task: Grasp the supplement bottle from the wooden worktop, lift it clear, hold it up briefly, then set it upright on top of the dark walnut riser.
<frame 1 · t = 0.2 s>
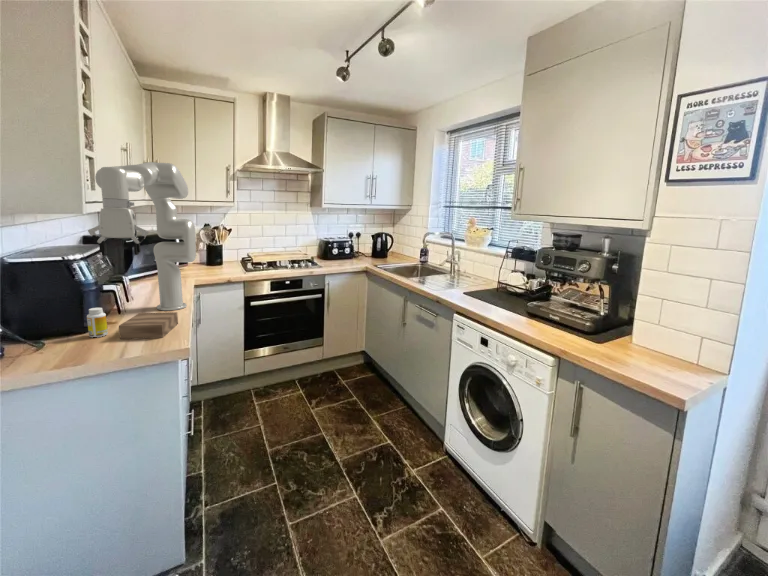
hand: (120, 254, 131), 30 cm above the countertop, tool pointing down, fingers open, 9 cm apart
supplement bottle: (98, 336, 137), on the countertop
walnut riser: (151, 331, 145), on the countertop
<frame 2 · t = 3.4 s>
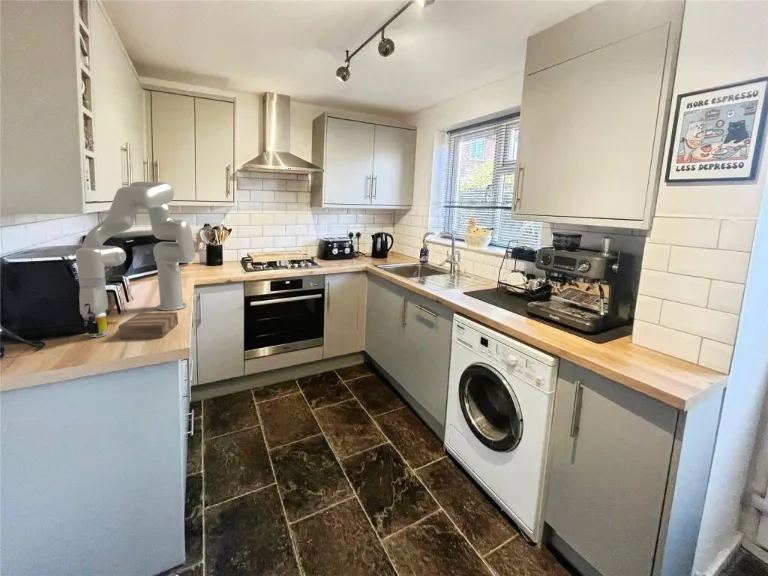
hand: (98, 330, 137), 2 cm above the countertop, tool pointing down, fingers closed on supplement bottle, 5 cm apart
supplement bottle: (98, 336, 137), on the countertop, touching gripper
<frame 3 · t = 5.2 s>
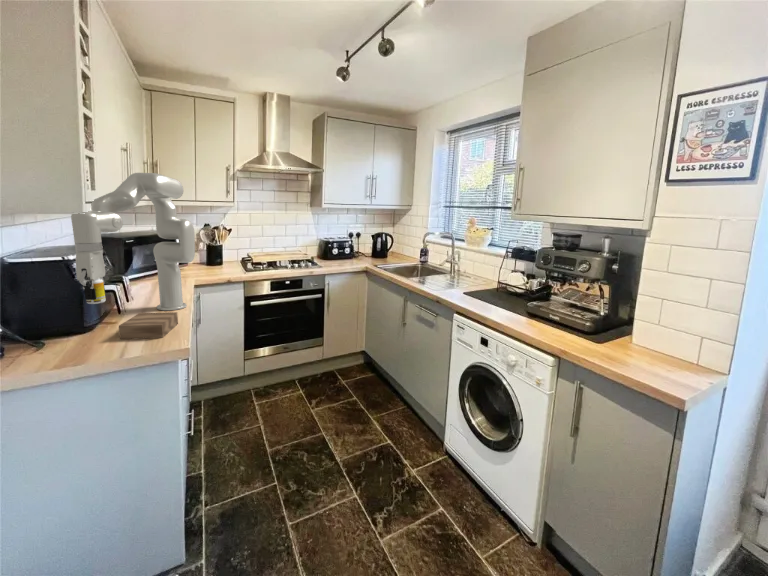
hand: (95, 297, 135), 14 cm above the countertop, tool pointing down, fingers closed on supplement bottle, 5 cm apart
supplement bottle: (96, 303, 135), point 12 cm above the countertop, touching gripper
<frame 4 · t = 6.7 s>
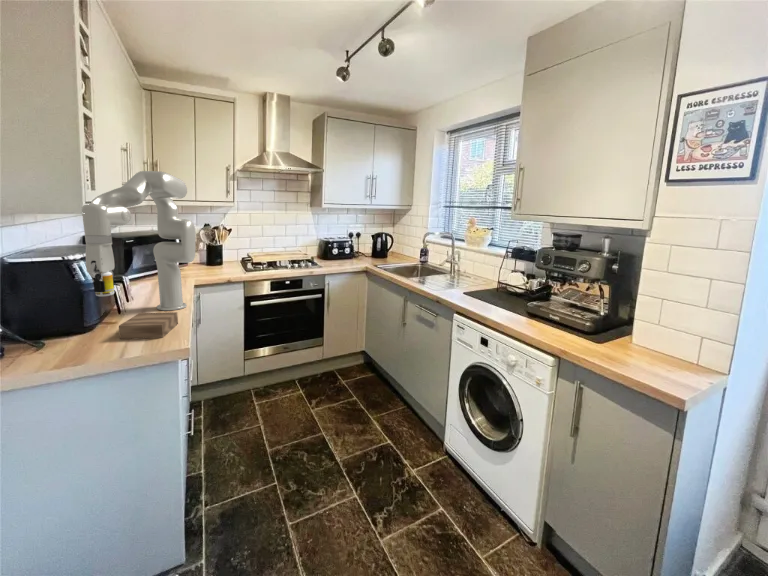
hand: (104, 289, 136), 17 cm above the countertop, tool pointing down, fingers closed on supplement bottle, 5 cm apart
supplement bottle: (105, 295, 136), point 15 cm above the countertop, touching gripper
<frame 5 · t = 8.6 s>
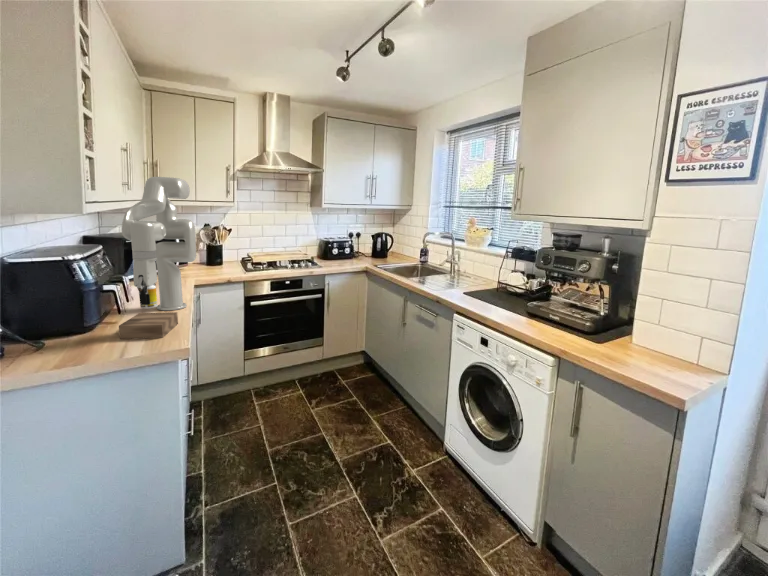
hand: (148, 302, 142), 12 cm above the countertop, tool pointing down, fingers closed on supplement bottle, 5 cm apart
supplement bottle: (149, 307, 143), point 9 cm above the countertop, touching gripper
when the fingers open (8 cm above the countertop, at t = 10.0 s): supplement bottle drops 1 cm, resting on walnut riser.
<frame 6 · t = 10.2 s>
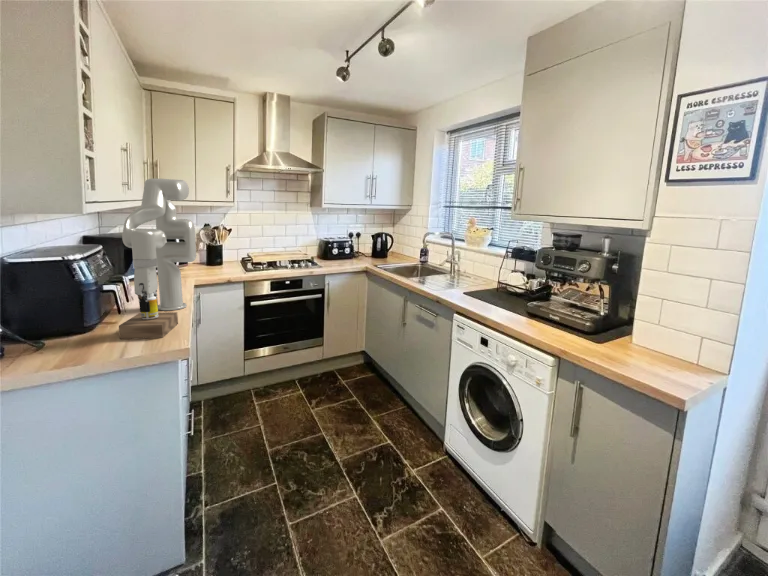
hand: (149, 309, 143), 9 cm above the countertop, tool pointing down, fingers open, 7 cm apart
supplement bottle: (150, 318, 144), point 5 cm above the countertop, touching walnut riser
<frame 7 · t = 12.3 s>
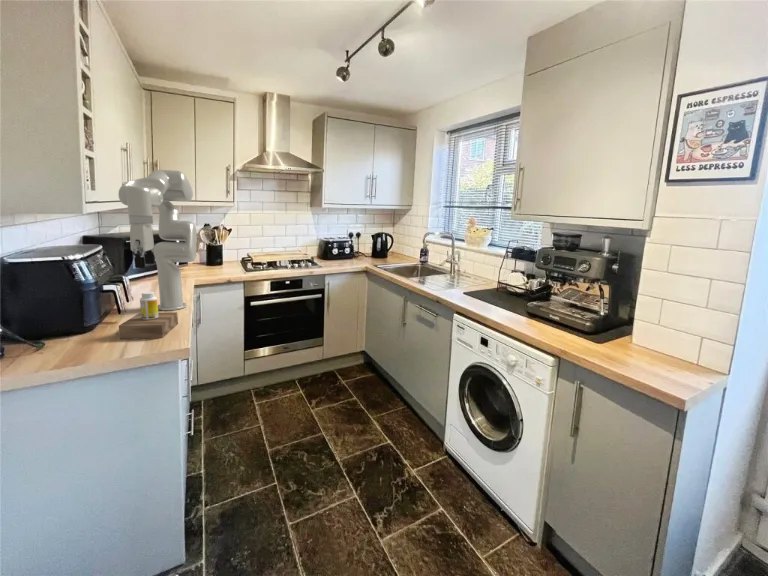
hand: (145, 265, 143), 25 cm above the countertop, tool pointing down, fingers open, 9 cm apart
nothing on the countertop moved.
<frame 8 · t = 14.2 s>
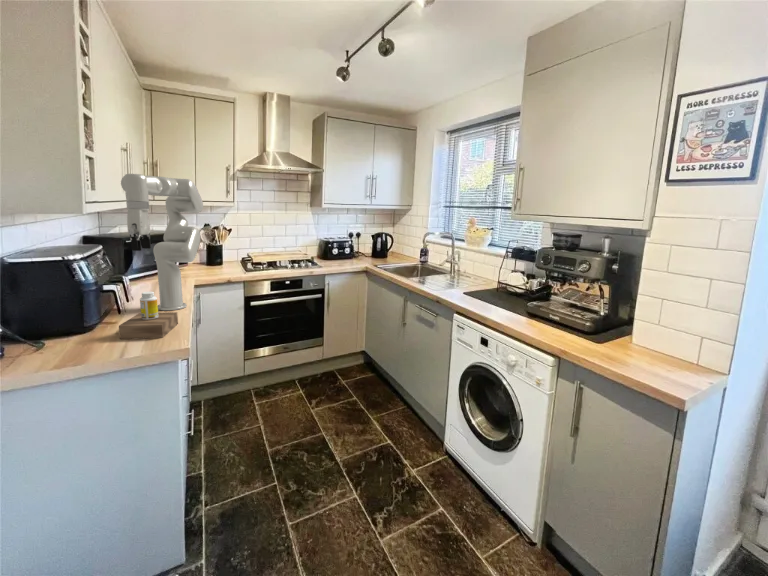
hand: (141, 249, 151), 30 cm above the countertop, tool pointing down, fingers open, 9 cm apart
nothing on the countertop moved.
at the end: supplement bottle inside the target area on the walnut riser (0.2 cm from its centre), point 4.8 cm above the walnut riser's base; supplement bottle tilted 0°; the gripper is holding nothing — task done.
